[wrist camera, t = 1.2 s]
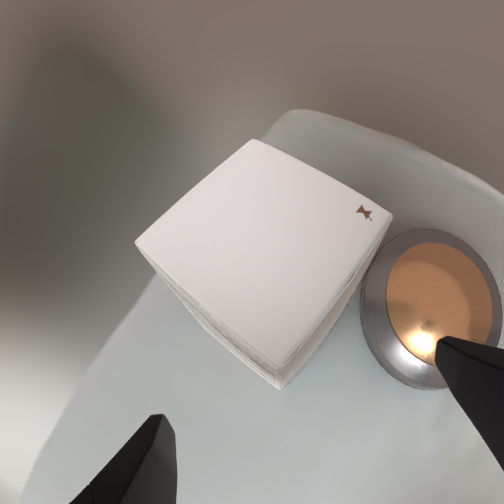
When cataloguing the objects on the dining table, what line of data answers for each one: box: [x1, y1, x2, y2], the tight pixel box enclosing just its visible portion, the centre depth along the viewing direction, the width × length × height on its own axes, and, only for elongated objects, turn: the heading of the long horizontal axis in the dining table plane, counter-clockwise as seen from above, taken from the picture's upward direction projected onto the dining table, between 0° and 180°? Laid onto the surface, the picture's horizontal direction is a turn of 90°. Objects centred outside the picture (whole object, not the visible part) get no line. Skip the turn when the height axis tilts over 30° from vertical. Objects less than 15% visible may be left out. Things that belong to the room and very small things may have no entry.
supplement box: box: [135, 139, 393, 390], centre depth 16 cm, size 7×7×13 cm
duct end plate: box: [360, 229, 502, 390], centre depth 20 cm, size 13×13×2 cm
